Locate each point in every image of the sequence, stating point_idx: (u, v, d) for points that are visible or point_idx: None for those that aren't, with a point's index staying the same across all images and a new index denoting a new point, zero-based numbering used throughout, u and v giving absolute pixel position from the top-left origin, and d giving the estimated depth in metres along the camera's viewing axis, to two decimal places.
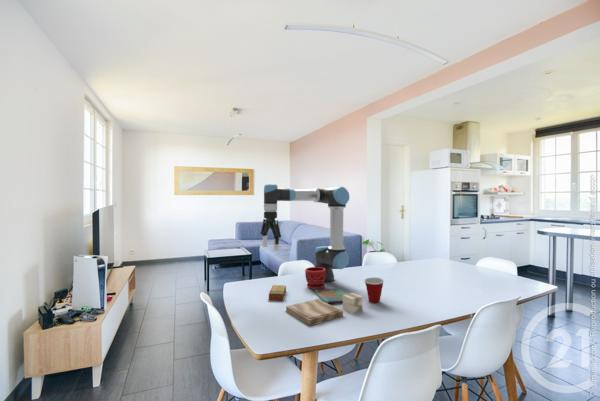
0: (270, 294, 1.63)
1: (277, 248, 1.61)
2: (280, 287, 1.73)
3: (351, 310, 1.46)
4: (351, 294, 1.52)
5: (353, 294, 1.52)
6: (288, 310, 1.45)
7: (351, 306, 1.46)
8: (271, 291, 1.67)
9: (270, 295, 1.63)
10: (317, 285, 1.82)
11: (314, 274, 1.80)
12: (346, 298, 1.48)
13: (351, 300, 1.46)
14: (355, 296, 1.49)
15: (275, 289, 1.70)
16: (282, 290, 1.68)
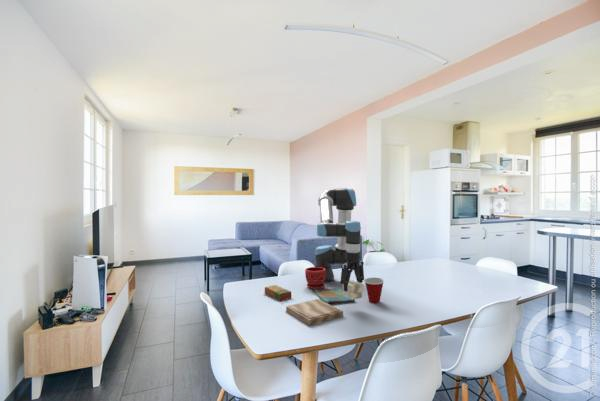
0: (281, 294, 1.62)
1: (347, 295, 1.47)
2: (276, 287, 1.74)
3: (351, 297, 1.46)
4: (351, 281, 1.52)
5: (353, 281, 1.52)
6: (288, 310, 1.45)
7: (351, 293, 1.46)
8: (276, 292, 1.66)
9: (281, 295, 1.62)
10: (317, 285, 1.82)
11: (314, 274, 1.80)
12: None
13: (351, 287, 1.46)
14: (355, 283, 1.49)
15: (276, 289, 1.69)
16: (283, 289, 1.71)
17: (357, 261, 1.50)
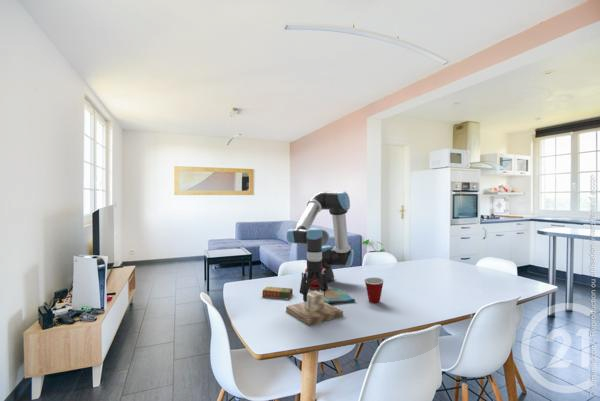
0: (289, 292, 1.66)
1: (306, 306, 1.41)
2: (273, 287, 1.72)
3: (311, 308, 1.40)
4: (313, 292, 1.46)
5: (315, 292, 1.46)
6: (288, 310, 1.45)
7: (311, 304, 1.40)
8: (282, 291, 1.67)
9: (289, 293, 1.66)
10: (317, 285, 1.82)
11: None
12: None
13: (311, 298, 1.40)
14: (317, 294, 1.43)
15: (278, 289, 1.69)
16: (282, 288, 1.73)
17: (319, 270, 1.44)
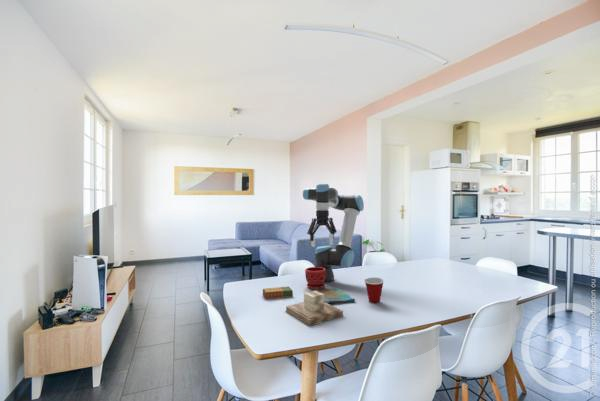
0: None
1: (313, 245, 1.70)
2: (272, 288, 1.71)
3: (311, 308, 1.40)
4: (313, 292, 1.46)
5: (315, 292, 1.46)
6: (288, 310, 1.45)
7: (311, 304, 1.40)
8: (285, 290, 1.69)
9: None
10: (317, 285, 1.82)
11: (314, 274, 1.80)
12: (307, 296, 1.42)
13: (311, 298, 1.40)
14: (317, 294, 1.43)
15: (279, 289, 1.70)
16: (279, 287, 1.74)
17: (326, 219, 1.74)
